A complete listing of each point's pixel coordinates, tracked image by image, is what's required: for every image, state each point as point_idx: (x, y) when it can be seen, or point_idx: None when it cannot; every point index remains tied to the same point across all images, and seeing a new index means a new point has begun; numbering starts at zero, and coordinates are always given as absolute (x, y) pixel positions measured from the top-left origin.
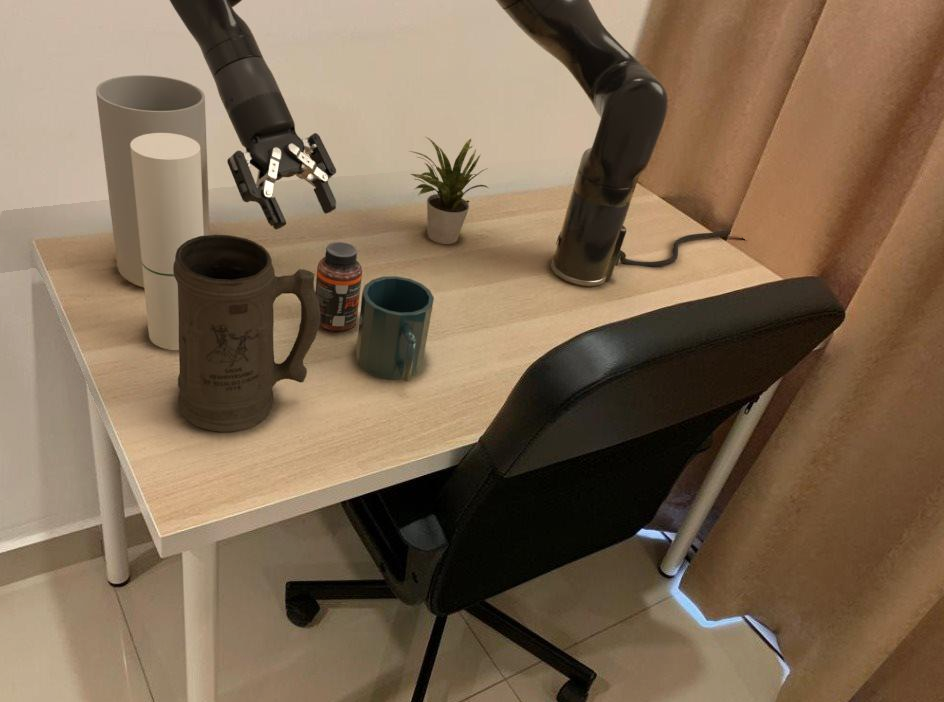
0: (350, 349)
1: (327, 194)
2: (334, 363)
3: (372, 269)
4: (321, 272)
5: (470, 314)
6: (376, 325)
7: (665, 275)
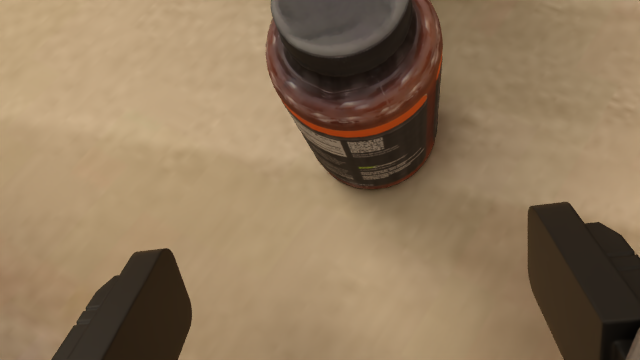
0: None
1: (126, 300)
2: None
3: None
4: (441, 37)
5: (53, 16)
6: None
7: None
